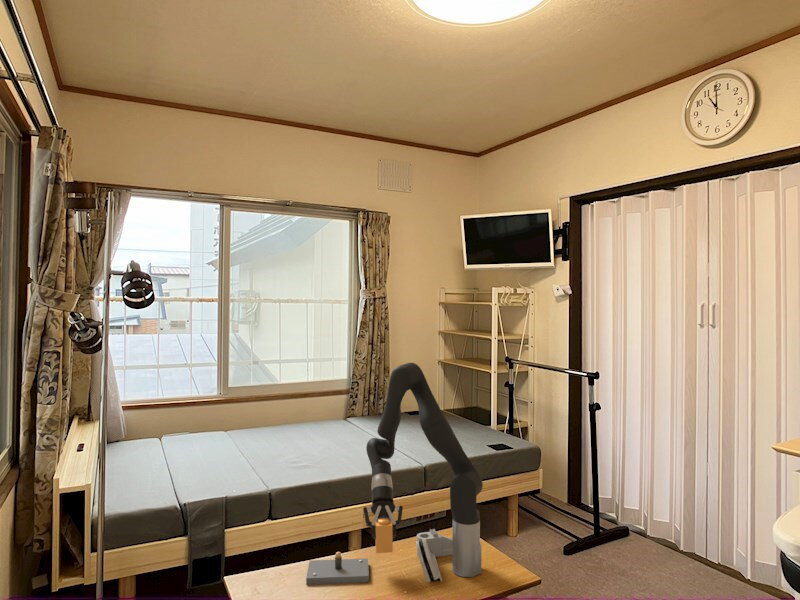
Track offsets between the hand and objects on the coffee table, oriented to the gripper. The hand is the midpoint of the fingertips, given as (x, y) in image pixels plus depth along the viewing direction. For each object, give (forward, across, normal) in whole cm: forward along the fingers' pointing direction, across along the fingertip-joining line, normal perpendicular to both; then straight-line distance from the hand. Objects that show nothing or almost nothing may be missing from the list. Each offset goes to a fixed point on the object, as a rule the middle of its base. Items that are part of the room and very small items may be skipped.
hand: (384, 537), depth 177 cm
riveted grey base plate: (+7, -15, +10) cm, 20 cm away
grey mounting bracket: (-2, +21, +20) cm, 29 cm away
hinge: (+7, +15, +11) cm, 20 cm away
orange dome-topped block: (+2, 0, +4) cm, 5 cm away
